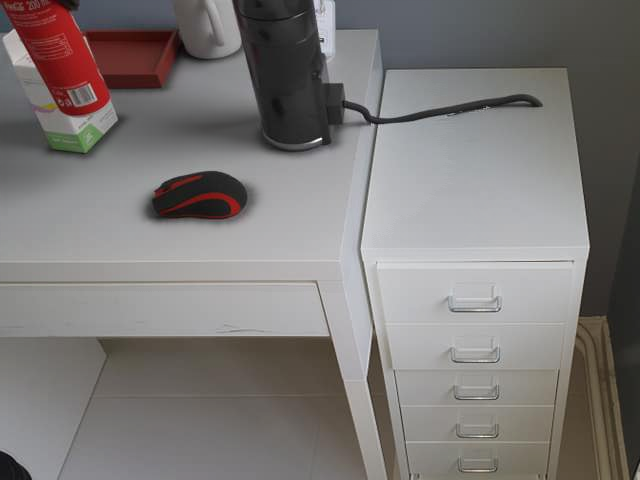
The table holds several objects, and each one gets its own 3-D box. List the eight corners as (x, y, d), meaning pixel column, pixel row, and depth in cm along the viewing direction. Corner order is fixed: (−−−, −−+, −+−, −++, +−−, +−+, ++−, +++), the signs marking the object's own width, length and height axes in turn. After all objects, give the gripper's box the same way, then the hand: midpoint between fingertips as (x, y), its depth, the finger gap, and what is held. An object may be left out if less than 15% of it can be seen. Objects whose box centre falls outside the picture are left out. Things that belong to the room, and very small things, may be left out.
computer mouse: (161, 188, 91) (151, 161, 88) (251, 185, 91) (243, 158, 88) (151, 221, 87) (139, 194, 84) (244, 218, 87) (236, 191, 84)
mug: (179, 39, 114) (156, -35, 106) (232, 28, 117) (214, -45, 108) (200, 75, 108) (177, -1, 99) (256, 62, 110) (239, -13, 102)
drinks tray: (181, 42, 114) (177, 29, 112) (162, 87, 105) (157, 74, 104) (88, 43, 113) (83, 29, 112) (61, 88, 105) (55, 74, 103)
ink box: (87, 155, 95) (35, 44, 83) (52, 150, 95) (-4, 39, 84) (120, 118, 100) (77, 10, 89) (87, 114, 101) (39, 6, 89)
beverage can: (123, 102, 85) (71, -34, 73) (76, 128, 81) (13, -11, 70) (89, 86, 87) (32, -49, 75) (41, 111, 83) (-26, -27, 71)
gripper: (3, -128, 59) (112, -35, 76) (-172, -133, 59) (-25, -40, 76) (5, -31, 60) (113, 40, 77) (-168, -37, 60) (-23, 35, 77)
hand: (44, 0), depth 76 cm, fingers closed on beverage can, 5 cm apart
